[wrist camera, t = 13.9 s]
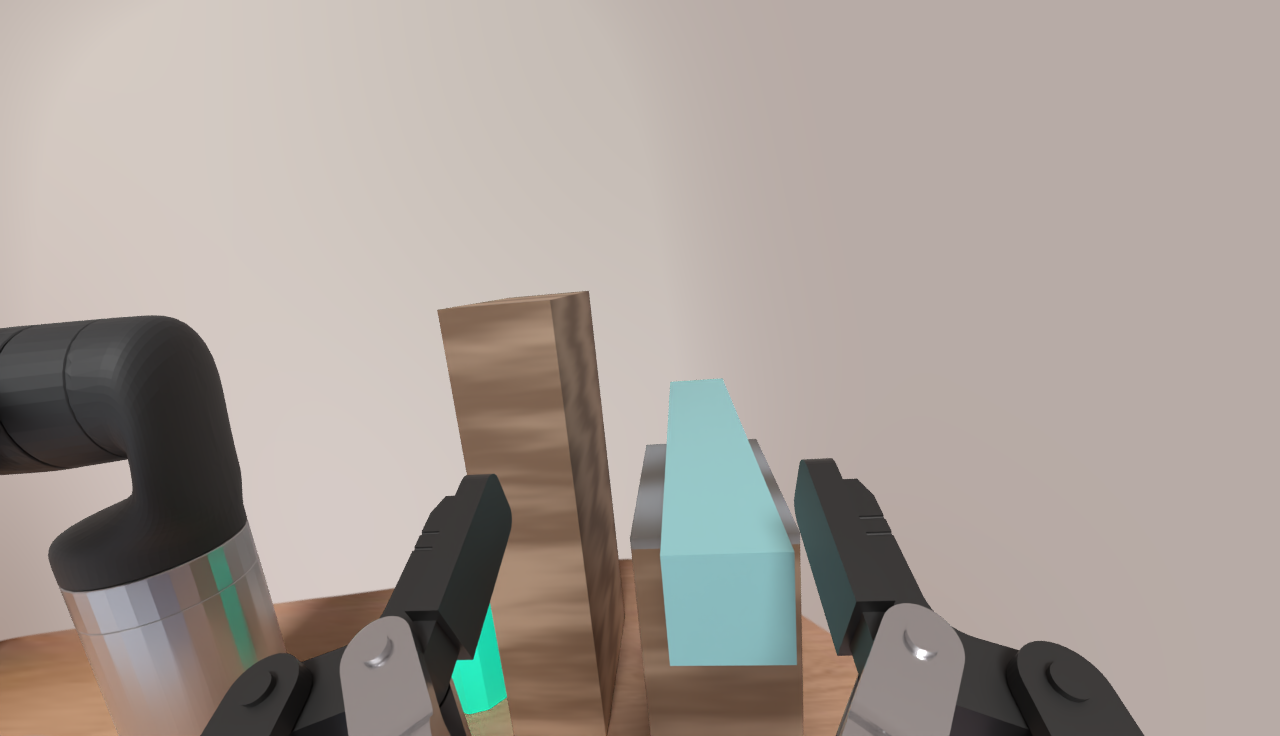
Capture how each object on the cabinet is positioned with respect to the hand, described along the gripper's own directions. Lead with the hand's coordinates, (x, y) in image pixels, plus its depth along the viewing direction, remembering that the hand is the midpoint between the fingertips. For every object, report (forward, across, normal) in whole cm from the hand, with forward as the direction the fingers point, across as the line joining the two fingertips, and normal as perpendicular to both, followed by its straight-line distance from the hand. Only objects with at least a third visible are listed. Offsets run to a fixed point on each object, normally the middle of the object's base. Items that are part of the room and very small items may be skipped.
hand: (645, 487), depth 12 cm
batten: (+8, -2, +11) cm, 14 cm away
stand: (+9, +9, +34) cm, 36 cm away
